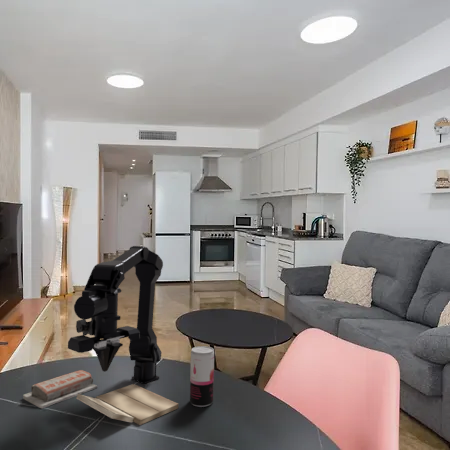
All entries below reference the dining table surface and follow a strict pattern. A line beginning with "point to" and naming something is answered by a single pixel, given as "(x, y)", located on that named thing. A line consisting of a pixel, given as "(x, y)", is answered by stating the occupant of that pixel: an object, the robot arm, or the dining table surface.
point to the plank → (105, 408)
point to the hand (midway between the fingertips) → (104, 371)
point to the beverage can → (202, 376)
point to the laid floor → (138, 403)
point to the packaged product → (60, 388)
